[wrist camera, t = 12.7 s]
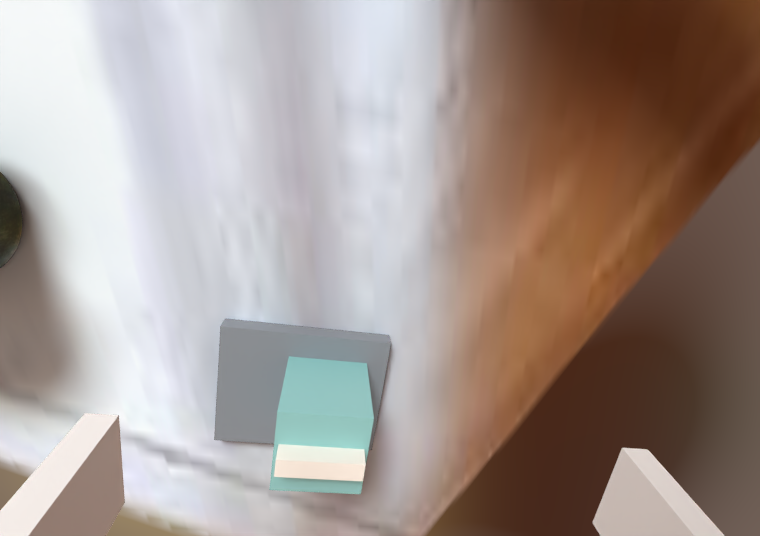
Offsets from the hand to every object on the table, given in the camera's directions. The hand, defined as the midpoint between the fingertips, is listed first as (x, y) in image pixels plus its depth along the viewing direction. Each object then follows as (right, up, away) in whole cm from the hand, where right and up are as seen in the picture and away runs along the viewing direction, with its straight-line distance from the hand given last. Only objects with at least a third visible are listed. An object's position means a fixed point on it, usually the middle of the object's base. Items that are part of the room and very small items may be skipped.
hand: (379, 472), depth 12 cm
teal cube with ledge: (-5, -6, +26) cm, 27 cm away
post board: (-7, -5, +28) cm, 29 cm away
